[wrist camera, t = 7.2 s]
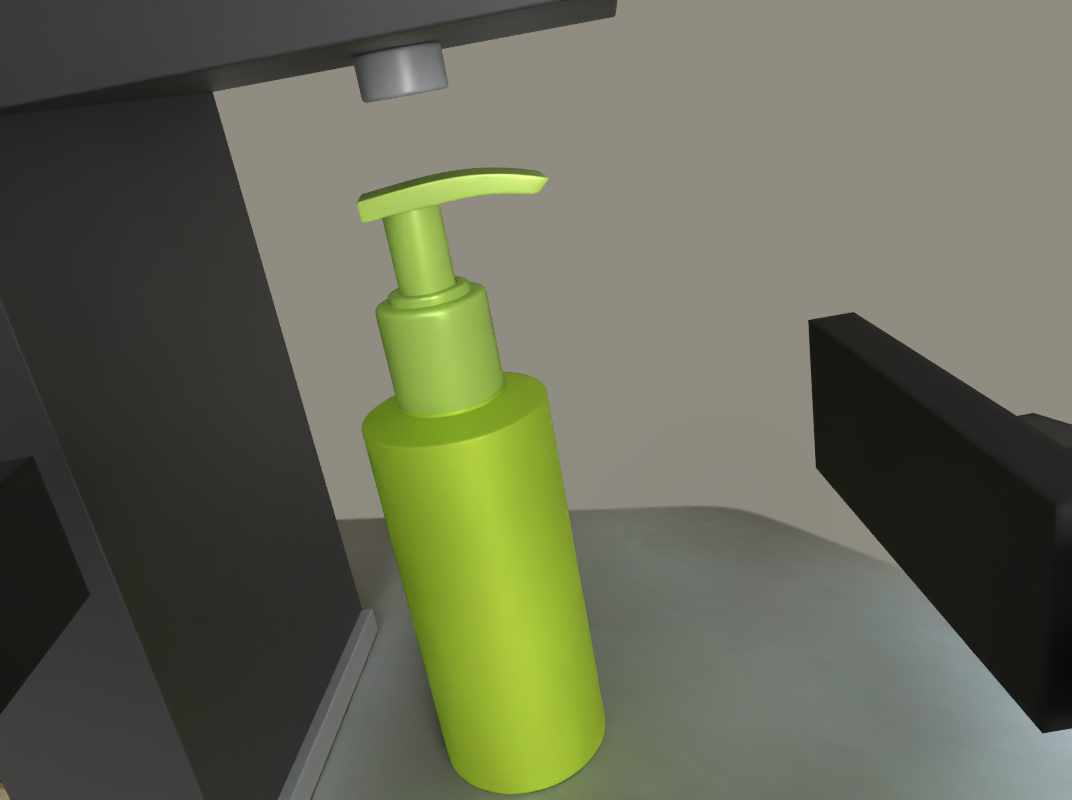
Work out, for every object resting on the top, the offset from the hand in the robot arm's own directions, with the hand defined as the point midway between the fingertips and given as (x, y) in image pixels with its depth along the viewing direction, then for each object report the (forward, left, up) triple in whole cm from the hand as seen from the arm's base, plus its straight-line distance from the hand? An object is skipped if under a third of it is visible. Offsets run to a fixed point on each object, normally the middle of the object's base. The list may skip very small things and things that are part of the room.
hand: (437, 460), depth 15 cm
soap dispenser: (+2, -12, -17) cm, 21 cm away
